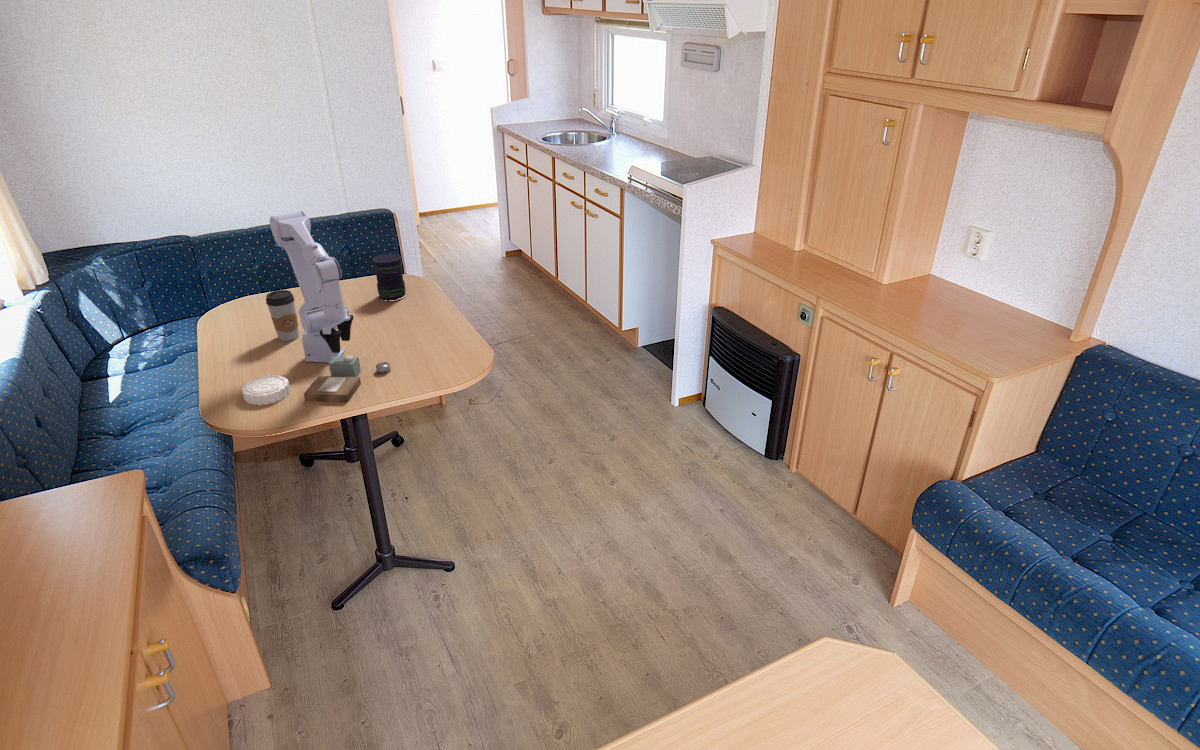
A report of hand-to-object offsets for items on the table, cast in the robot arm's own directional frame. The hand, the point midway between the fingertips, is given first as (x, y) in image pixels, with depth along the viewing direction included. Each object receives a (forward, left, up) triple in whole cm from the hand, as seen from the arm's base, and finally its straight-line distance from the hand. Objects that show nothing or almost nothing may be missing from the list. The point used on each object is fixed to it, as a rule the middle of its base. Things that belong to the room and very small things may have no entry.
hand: (341, 346), depth 197 cm
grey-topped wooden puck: (+10, +3, -10) cm, 14 cm away
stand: (0, -10, -9) cm, 14 cm away
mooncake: (-18, -12, -10) cm, 24 cm away
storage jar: (-5, +60, -10) cm, 61 cm away
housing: (0, 0, -10) cm, 10 cm away
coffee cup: (-28, +24, -10) cm, 38 cm away
